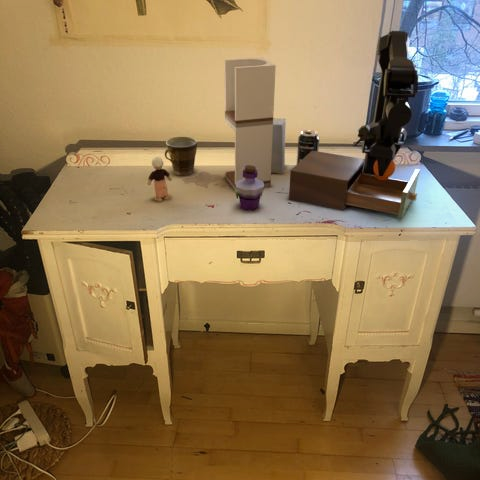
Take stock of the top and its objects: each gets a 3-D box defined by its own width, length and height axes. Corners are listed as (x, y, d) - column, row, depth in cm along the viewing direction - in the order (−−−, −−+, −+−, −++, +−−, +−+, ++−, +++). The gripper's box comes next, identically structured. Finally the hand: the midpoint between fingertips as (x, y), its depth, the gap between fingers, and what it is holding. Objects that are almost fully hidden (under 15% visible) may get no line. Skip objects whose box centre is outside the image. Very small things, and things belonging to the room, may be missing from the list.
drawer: (359, 184, 165) (363, 160, 160) (420, 194, 159) (425, 170, 154) (342, 206, 152) (346, 181, 147) (407, 219, 145) (413, 193, 141)
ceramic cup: (181, 164, 180) (180, 134, 174) (204, 170, 176) (203, 140, 169) (155, 175, 172) (152, 145, 166) (178, 183, 167) (176, 152, 161)
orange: (374, 172, 154) (378, 151, 151) (395, 175, 152) (399, 154, 149) (369, 179, 150) (373, 157, 146) (390, 183, 148) (394, 161, 144)
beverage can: (305, 163, 181) (308, 128, 174) (320, 169, 177) (324, 133, 170) (291, 168, 177) (294, 132, 170) (307, 174, 173) (310, 137, 166)
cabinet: (309, 177, 171) (311, 150, 166) (360, 187, 165) (365, 159, 160) (288, 199, 158) (290, 170, 152) (343, 210, 152) (347, 180, 147)
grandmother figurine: (166, 193, 161) (163, 152, 153) (174, 197, 159) (171, 155, 151) (146, 200, 157) (141, 159, 149) (154, 204, 154) (150, 162, 147)
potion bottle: (230, 203, 156) (229, 163, 148) (256, 198, 158) (257, 159, 151) (241, 215, 149) (242, 174, 142) (269, 210, 152) (270, 169, 145)
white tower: (258, 174, 173) (262, 57, 152) (270, 186, 165) (275, 65, 144) (225, 178, 171) (224, 59, 149) (235, 190, 163) (236, 67, 141)
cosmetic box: (282, 174, 173) (284, 125, 164) (260, 172, 174) (262, 123, 165) (285, 165, 180) (288, 117, 170) (264, 163, 181) (266, 116, 171)
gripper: (372, 103, 150) (364, 157, 160) (354, 121, 137) (346, 178, 146) (411, 108, 147) (401, 163, 156) (397, 127, 133) (386, 185, 143)
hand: (383, 172), depth 150 cm, fingers closed on orange, 6 cm apart
